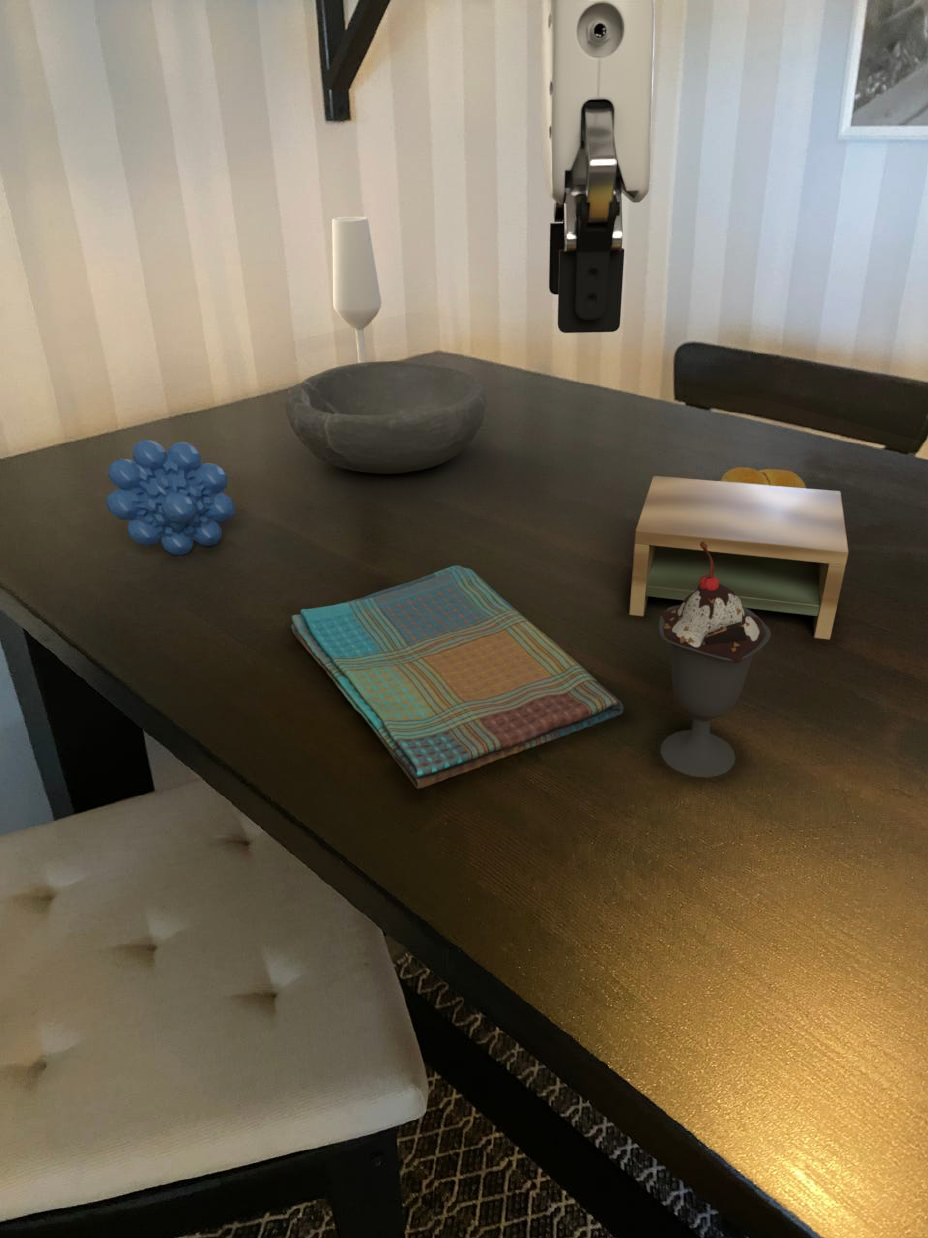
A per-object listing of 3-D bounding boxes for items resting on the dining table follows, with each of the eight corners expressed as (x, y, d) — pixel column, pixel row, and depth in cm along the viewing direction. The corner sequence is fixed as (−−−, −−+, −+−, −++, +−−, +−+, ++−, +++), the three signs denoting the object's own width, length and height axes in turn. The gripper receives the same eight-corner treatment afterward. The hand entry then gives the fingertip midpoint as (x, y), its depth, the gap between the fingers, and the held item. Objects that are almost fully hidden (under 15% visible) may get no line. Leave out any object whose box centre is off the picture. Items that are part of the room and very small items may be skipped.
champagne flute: (369, 405, 128) (353, 223, 116) (332, 398, 131) (314, 220, 119) (397, 393, 133) (385, 216, 121) (361, 386, 136) (346, 214, 124)
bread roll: (813, 520, 91) (820, 483, 89) (724, 520, 92) (728, 484, 90) (793, 488, 98) (799, 453, 96) (710, 489, 99) (714, 454, 97)
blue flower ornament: (131, 587, 83) (101, 464, 77) (117, 558, 88) (88, 441, 82) (253, 557, 88) (234, 439, 82) (233, 531, 93) (214, 418, 87)
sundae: (670, 713, 64) (691, 522, 57) (762, 746, 61) (798, 547, 53) (628, 763, 60) (645, 562, 52) (726, 801, 57) (759, 593, 49)
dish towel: (469, 582, 82) (468, 557, 81) (628, 716, 64) (631, 687, 63) (290, 634, 75) (286, 608, 74) (413, 800, 58) (410, 769, 56)
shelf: (829, 641, 72) (848, 551, 68) (629, 616, 76) (635, 530, 72) (824, 572, 82) (840, 490, 78) (646, 554, 86) (653, 475, 82)
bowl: (449, 513, 95) (445, 421, 90) (262, 492, 102) (248, 405, 97) (510, 440, 114) (510, 361, 109) (348, 426, 121) (341, 351, 115)
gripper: (712, -98, 35) (672, 348, 44) (648, -45, 50) (628, 280, 59) (518, -90, 35) (517, 351, 44) (513, -40, 50) (513, 282, 59)
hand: (581, 310), depth 51 cm, fingers open, 9 cm apart
